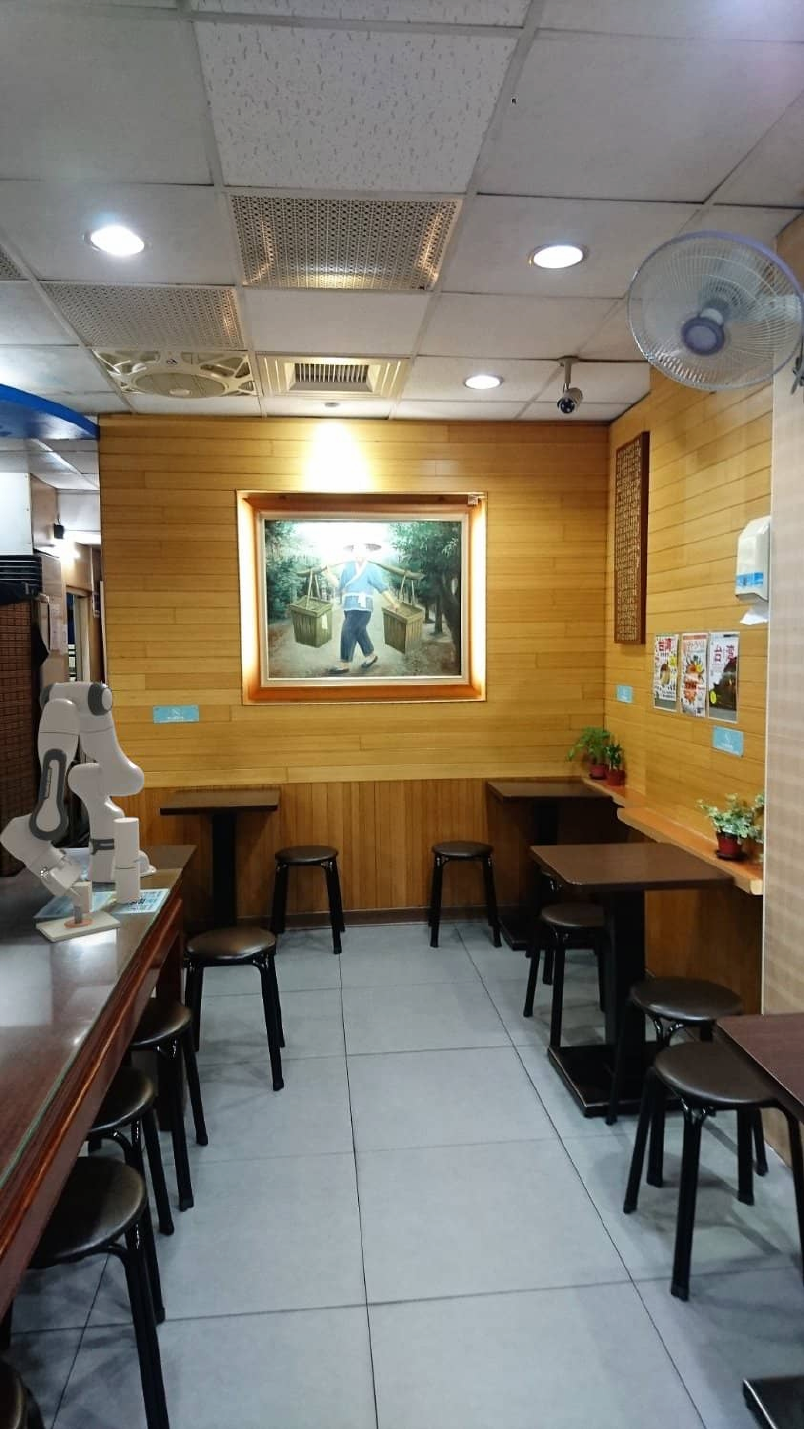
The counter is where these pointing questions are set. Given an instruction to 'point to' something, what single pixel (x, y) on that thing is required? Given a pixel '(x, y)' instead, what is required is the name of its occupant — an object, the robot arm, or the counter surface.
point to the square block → (84, 895)
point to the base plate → (77, 924)
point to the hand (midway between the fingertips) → (84, 894)
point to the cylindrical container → (127, 860)
